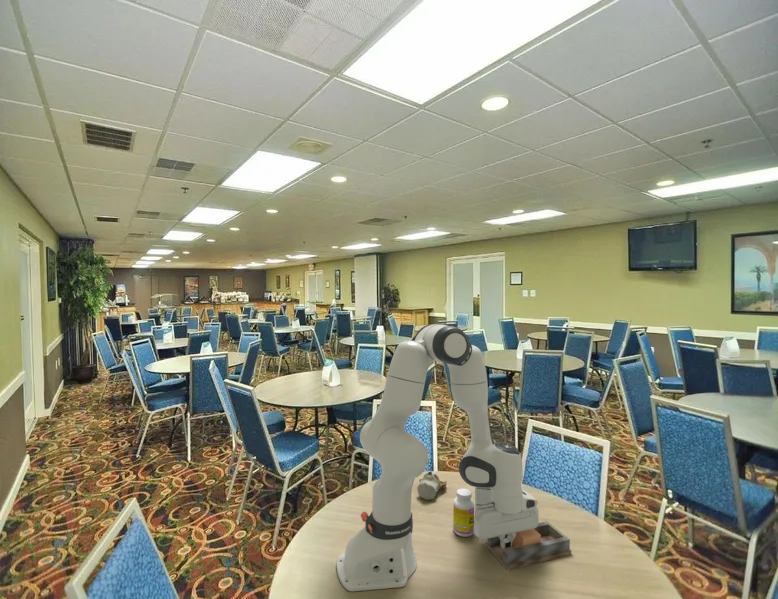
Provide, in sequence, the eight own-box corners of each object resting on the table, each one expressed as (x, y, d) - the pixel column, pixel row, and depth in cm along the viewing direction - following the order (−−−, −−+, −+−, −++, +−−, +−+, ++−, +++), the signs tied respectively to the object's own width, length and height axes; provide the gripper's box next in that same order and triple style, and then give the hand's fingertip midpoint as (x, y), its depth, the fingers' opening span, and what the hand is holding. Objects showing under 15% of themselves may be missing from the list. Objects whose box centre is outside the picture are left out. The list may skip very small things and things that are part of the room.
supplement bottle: (470, 540, 121) (471, 499, 120) (450, 534, 124) (450, 494, 123) (476, 528, 126) (476, 489, 126) (456, 523, 130) (457, 485, 129)
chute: (507, 570, 107) (507, 556, 107) (486, 545, 118) (486, 532, 118) (571, 554, 114) (571, 540, 114) (545, 532, 125) (545, 520, 125)
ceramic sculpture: (411, 476, 144) (423, 462, 158) (410, 499, 144) (422, 483, 158) (439, 481, 140) (448, 467, 154) (438, 506, 140) (447, 489, 154)
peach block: (523, 555, 112) (523, 538, 112) (510, 542, 118) (510, 526, 118) (540, 551, 114) (540, 534, 114) (527, 539, 119) (527, 523, 119)
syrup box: (492, 521, 131) (493, 478, 130) (474, 518, 132) (475, 476, 132) (491, 511, 136) (491, 470, 136) (474, 509, 138) (474, 469, 137)
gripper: (481, 511, 107) (480, 561, 107) (542, 499, 113) (541, 546, 114) (469, 500, 113) (469, 546, 113) (528, 489, 119) (528, 533, 120)
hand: (506, 546), depth 114 cm, fingers closed
